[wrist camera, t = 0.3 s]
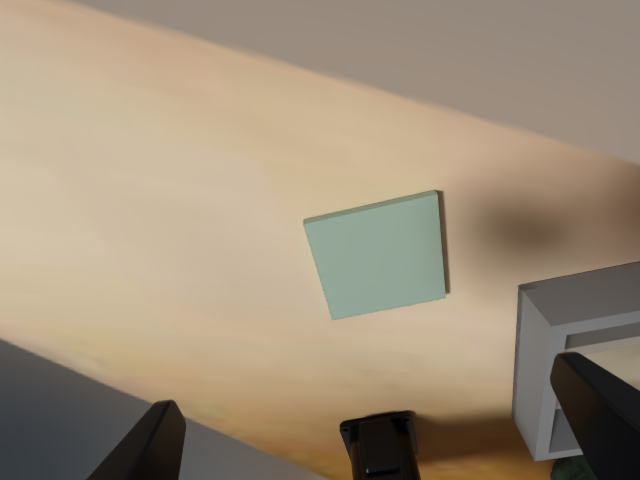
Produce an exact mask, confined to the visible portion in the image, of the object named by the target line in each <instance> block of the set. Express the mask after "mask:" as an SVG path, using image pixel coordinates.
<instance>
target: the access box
mask: <svg viewBox="0 0 640 480" xmlns="http://www.w3.org/2000/svg"><path fill="white" fill-rule="evenodd" d="M635 346H640V262H636V263H630V264H625V265H620V266H615V267H610V268H605V269H600V270H595V271H589V272H584V273H579V274H574V275H569V276H564V277H559V278H554V279H549V280H543V281H538V282H533V283H528V284H523V285H519V290H518V308H517V327H516V345H515V364H514V382H513V400H512V418H513V420H514V422H515V424H516V426H517V428H518V430H519V432H520V434H521V436H522V438H523V439H524V441H525V443H526V445H527V447H528V449H529V451H530V453H531V455H532V457H533V459H534V461H542V460H549V459H556V458H562V457H569V456H576V455H583V453H582V451H581V449H580V447H579V445H578V442H577V440H576V438H575V436H574V434H573V432H572V430H571V427H570V425H569V423H568V421H567V419H566V417H565V415H564V412H563V410H562V408H561V406H560V404H559V402H558V400H557V397H556V395H555V393H554V391H553V389H552V386H551V383H550V373H551V369H552V365H553V362H554V358H555V355H556V354H558V353H563V352H578V353H580V354H582V355H589V354H595V353H601V352H606V351H612V350H618V349H624V348H629V347H635Z"/></svg>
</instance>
